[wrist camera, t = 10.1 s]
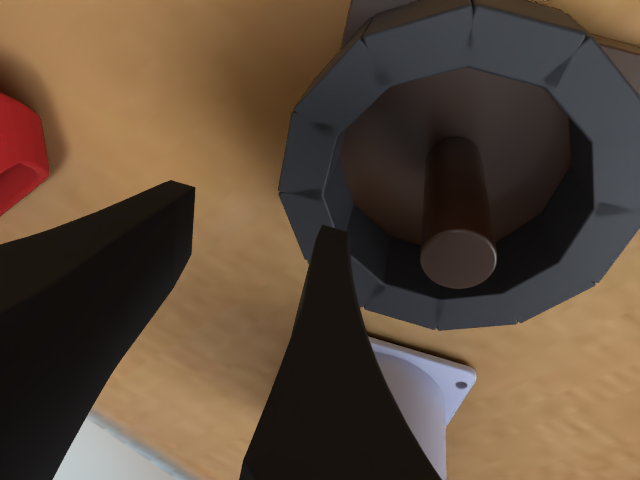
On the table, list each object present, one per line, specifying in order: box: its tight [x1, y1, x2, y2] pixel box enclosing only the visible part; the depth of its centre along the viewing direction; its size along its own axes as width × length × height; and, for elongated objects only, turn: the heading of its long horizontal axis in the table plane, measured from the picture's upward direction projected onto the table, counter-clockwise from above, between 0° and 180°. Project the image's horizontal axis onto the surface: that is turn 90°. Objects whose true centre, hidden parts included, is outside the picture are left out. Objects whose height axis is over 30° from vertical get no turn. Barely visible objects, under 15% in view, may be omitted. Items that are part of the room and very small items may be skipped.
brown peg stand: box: [339, 0, 640, 289], centre depth 14 cm, size 9×9×7 cm
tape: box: [278, 0, 640, 331], centre depth 15 cm, size 10×10×3 cm
